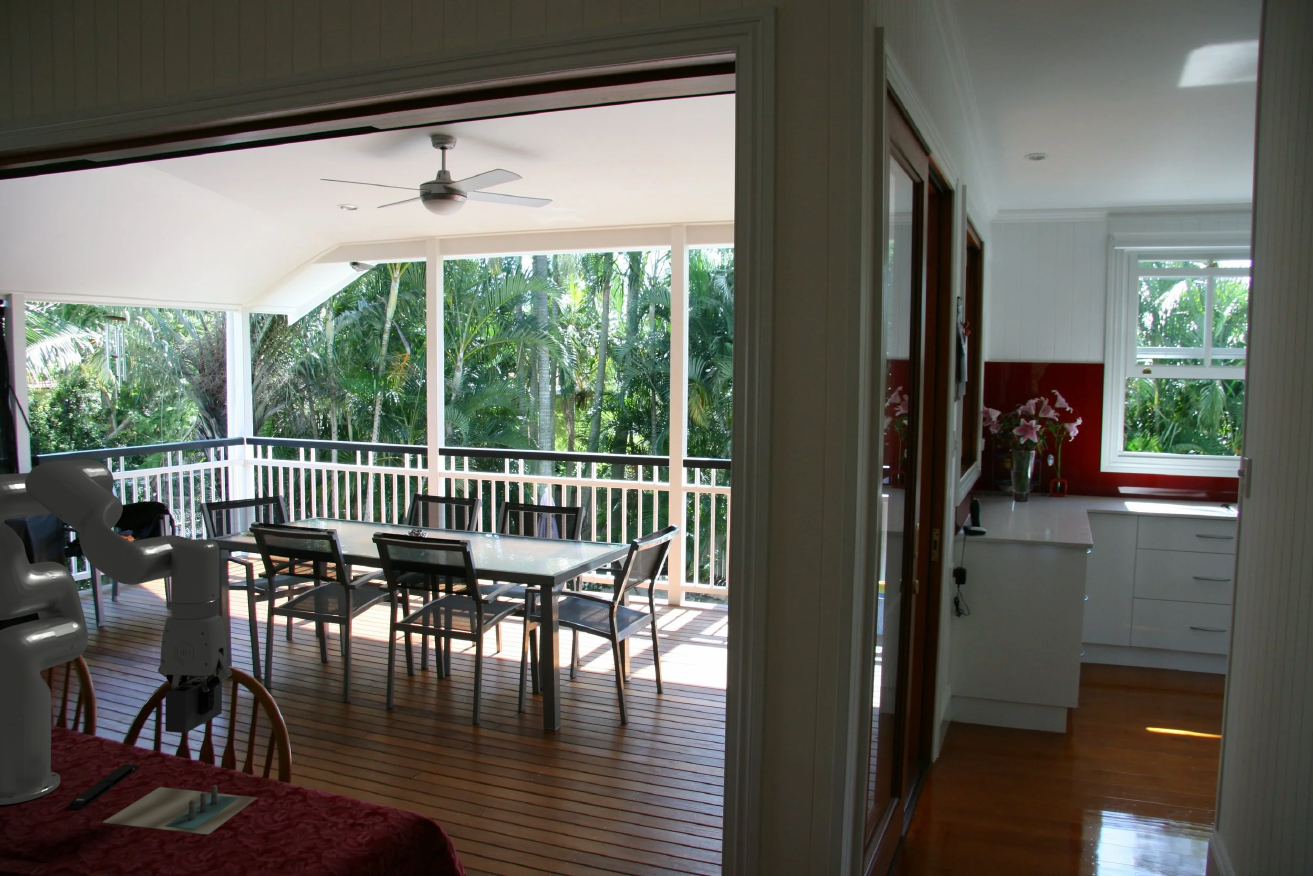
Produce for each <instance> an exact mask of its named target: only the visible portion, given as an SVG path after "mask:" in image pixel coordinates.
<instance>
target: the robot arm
mask: <svg viewBox="0 0 1313 876" xmlns="http://www.w3.org/2000/svg"><path fill="white" fill-rule="evenodd" d="M114 481H115V480H114V476H113V473H112V472H111V470H110V469H109V468H108V466H106V465H105V464H103V463H102V462H100V461H99V460H94V459H88V458H87V459H83V458H82V459H71V460H70V459H69V460H68V459H66V460H52V461H47V462H43V463H40V464H39V465H37V466H34V468H33V469H31V470H30V471H29V472H21V473H3V474H2V473H1V474H0V621H4V620H10V619H15V618H21V617H24V616H28V615H32V614H36V613H37V615H38V616H37V617H38V619H36V620H30V621H27V622H23V623H20V624H15V625H11V626H9V627H8V626H7V627H5V628H3V629H1V630H0V806H3V805H13V804H19V803H25V802H27V801H28V802H29V801H31V800H35V799H39V798H41V797H43V796H45V795H47V794H49V793H51V792H53V791H54V790H56V789H57V788H58V787H59V786H60V784H61V776H60V774H59V773H57V772H55V771H52V770H51V768H52V767H51V761H52V759H51V758H52V757H51V756H52V755H51V754H52V753H51V752H52V750H51V749H52V747H51V746H52V693H51V689H50V687H49V684H47V683H46V681H45V679H43V677H42V675H41V671H44V670H47V669H49V668H52V667H56V666H58V665H62V664H65V663H68V662H71V661H73V660H75V659H77V658H79V657H80V656H81V655H82V654H83V653H84V652H85V650H86V649H87V647H88V642H89V632H88V626H87V623H86V617H85V614H84V609H83V606H82V602H81V598H80V594H79V589H78V586H77V581H76V580H75V578H74V575H73V574H72V572H71V571H70V570H69V569H68V568H67V567H65V566H64V565H63V564H62V563H59V562H56V561H41V562H40V561H39V562H35V563H30V561H29V558H28V556H27V553H26V549H25V543H24V542H23V540H22V539H21V537H20V536H19V535H18V534H17V532H16V531H15V530H14V529H13V528H11V526H9V525H7V524H6V523H5V521H6V520H11V519H20V518H21V519H22V518H23V519H24V518H29V517H36V516H37V517H38V516H46V515H54V516H56V517H57V518H58V519H60V520H61V521H62V522H64V523H65V524H67V525H68V526H69V527H70V528H72V529H73V530H75V531H77V532H78V533H79V534H78V535H79V536H78V537H79V539H78V540H79V545H80V548H81V551H82V554H83V556H84V557H85V559H86V561H87V562H88V563H89V564H90V565H91V566H92V567H93V568H95V569H97V570H98V571H100V572H101V573H102V574H103V575H105V576H107V577H108V578H109V579H111V580H113V581H115V582H116V583H119V584H122V585H125V586H126V585H127V586H135V585H140V584H141V585H142V584H145V583H148V582H153V581H158V580H162V579H167V578H170V582H171V583H170V588H171V589H170V601H167V603H166V609H167V610H170V616H168V617H167V618H166V620H165V623H164V627H163V630H162V638H161V647H160V665H159V666H158V668H157V672H158V673H159V674H160V675H162V677H164V678H165V679H166V680H167V681H168V682H169V683H170V685H171V689H173V688H175V687H177V686H179V685H181V684H184V683H186V682H188V681H190V677H192V678H193V677H194V678H197V677H200V682H201V689H202V692H200V693H199V715H203V714H205V713H207V712H209V711H211V710H213V706H214V688H216V687H217V686H218V684H219V683H220V682H221V681H222V682H223V681H224V680H225V679H227V678H229V677H231V676H232V674H233V672H232V670H231V668H230V665H229V664H228V662H227V640H226V632H225V631H226V630H225V625H224V621H223V618H222V617H223V616H222V615H220V547H219V544H218V542H217V541H215V540H212V539H206V538H195V539H191V538H188V537H185V536H180V535H175V534H167V535H161V536H156V537H148V538H143V539H138V540H134V541H133V540H132V541H131V540H129V539H126V538H125V537H123V536H122V535H121V534H119V533H117V532H116V531H114V530H113V528H114V527H115V526H116V525H117V523H118V521H120V518H121V517H122V513H123V511H124V508H123V506H124V505H123V502H122V500H121V499H120V498H119V497H118V496H117V495H115V494H113V493H112V492H113V490H114V485H115V483H114ZM217 671H218V672H219V673H218V674H217ZM208 677H209V681H208Z"/></svg>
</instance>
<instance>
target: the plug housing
mask: <svg viewBox="0 0 1313 876" xmlns="http://www.w3.org/2000/svg"><path fill="white" fill-rule="evenodd" d="M208 681H209V677H208ZM200 692H202V689H201V682H200V677H194V678H192V679H191V680H190V679H189V681H188V682H186V683H184V684H181V685H179V686H177V687H175V688H173V689H172V688H171V689H167V690H166V691H165V705H164V706H165V715H164V716H165V721H164V722H165V724H164V725H165V727H164V729H165V731H164V732H166V733H177V734H187V733H188V732H190V731H192V730H194V729H196V728H198V727H199V726H202V725H203V724H205V723H207V722H209V721H211V720H212V719H214V718H217V717H218V716H220V715H222V714H223V713H222V712H223V680H222V681H221V682H220V683H219V684H218V686H217V687H216V688H214V706H213V710H211V711H209V712H207V713H205V714H203V715H199V693H200Z"/></svg>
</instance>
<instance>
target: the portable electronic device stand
mask: <svg viewBox="0 0 1313 876" xmlns="http://www.w3.org/2000/svg"><path fill="white" fill-rule="evenodd" d="M138 769H140V766H139V764H131V763H129V764H127V763H124V764H122V765H121V766H119V767H118V768H116V769H115V770H114V771H112V772H110V773H109V774H107V775H106V776H105V777H104V778H102V779H101V780H99V781H98V782H96V783H95V784H93V785H92V786H91V787H89V788H87V790H85V791H83V792H82V793H80V794H79V795H78V796H76V797H75V798H74V799H72V800H71V802H70V804H69V807H68V810H70V811H71V810H72V811H74V810H77V811H81V810H84V809H85V808H87V807H88V806H89V804H90V803H94V802H95V801H96V800H97V799H99V798H100V797H102V796H103V795H105V794H106V793H107V792H108V791H110V790H112V788H114V787H115V786H117V785H118V784H119V783H120V782H122V781H123V780H124V779H126V778H127V777H128V776H130V775H131V774H132V773H134V772H136V771H137V770H138Z"/></svg>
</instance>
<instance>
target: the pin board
mask: <svg viewBox="0 0 1313 876" xmlns="http://www.w3.org/2000/svg"><path fill="white" fill-rule="evenodd" d="M257 799H258V797H255V796H248V795H247V796H245V795H238V794H237V795H236V794H226V793H219V792H218V786H217V785H216V784H214V785H213V784H212V786H211V789H210V792H208V791H200V790H198V791H197V790H189V789H181V788H173V787H172V788H171V787H163V786H161V787H158V788H156V789H154V790H153V791H151V792H150V793H148V794H147V795H145V796H143V797H141V798H140V799H138V800H137V801H135V802H134V803H133V802H132V803H131V804H130V805H128V806H126V807H125V808H123V809H121V810H119V812H117V813H115V814H114V815H112V816H111V817H110V816H109V818H107V819H105V820H103V821H102V824H103V823H104V824H111V825H112V824H113V825H122V826H128V827H138V828H139V827H140V828H146V829H157V830H164V831H165V830H166V831H173V832H182V833H189V834H199V835H210V834H211V833H213V832H214V831H215V830H216V829H218V828H219V827H220V826H222V825H223V824H224V823H226V822H227V821H228V820H230V819H231V818H233V817H234V816H235V815H237V814H238V813H240V812H241V811H242V810H243V809H245V808H246V807H248V805H250V804H251V803H253V802H254V801H256V800H257Z"/></svg>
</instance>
